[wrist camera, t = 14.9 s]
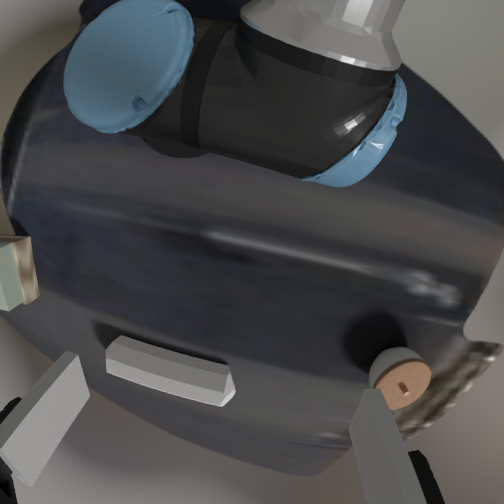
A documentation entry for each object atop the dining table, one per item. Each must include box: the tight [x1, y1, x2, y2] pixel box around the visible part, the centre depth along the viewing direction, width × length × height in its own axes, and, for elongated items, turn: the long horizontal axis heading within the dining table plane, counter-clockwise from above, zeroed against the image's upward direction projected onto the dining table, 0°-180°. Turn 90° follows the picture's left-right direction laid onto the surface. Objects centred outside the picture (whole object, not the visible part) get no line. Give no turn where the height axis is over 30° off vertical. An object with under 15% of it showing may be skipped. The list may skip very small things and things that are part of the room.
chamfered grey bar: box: [106, 335, 236, 407], centre depth 47 cm, size 7×7×24 cm
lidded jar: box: [368, 347, 431, 410], centre depth 43 cm, size 11×11×9 cm
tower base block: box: [0, 235, 40, 305], centre depth 44 cm, size 12×12×5 cm
